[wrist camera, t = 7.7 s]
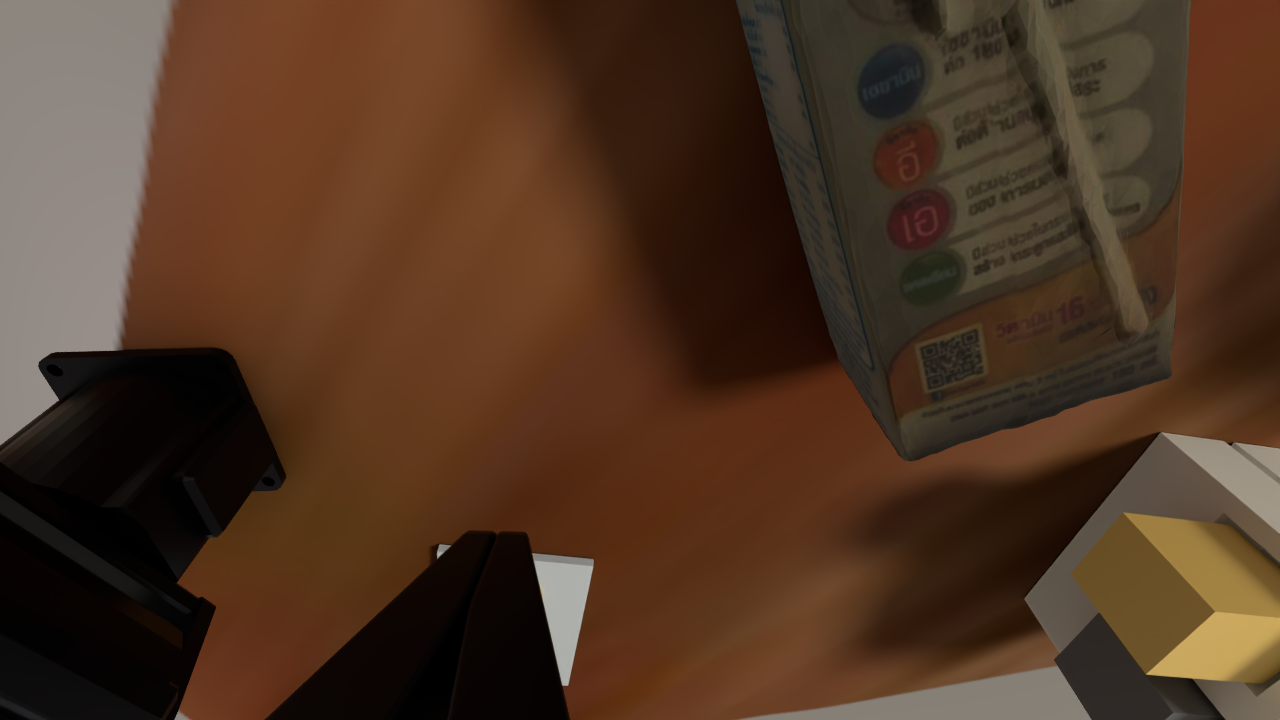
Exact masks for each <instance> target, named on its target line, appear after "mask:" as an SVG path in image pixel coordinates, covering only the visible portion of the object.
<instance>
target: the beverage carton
mask: <svg viewBox="0 0 1280 720" xmlns="http://www.w3.org/2000/svg"><path fill="white" fill-rule="evenodd" d="M735 1H736V4H737V8H738V11H739V15H740V19H741V23H742V26H743V30H744V34H745V38H746V41H747V45H748V49H749V52H750V56H751V60H752V63H753V67H754V71H755V74H756V78H757V82H758V85H759V89H760V92H761V96H762V100H763V103H764V107H765V111H766V115H767V119H768V124H769V128H770V131H771V134H772V138H773V142H774V145H775V149H776V153H777V156H778V160H779V163H780V167H781V170H782V174H783V177H784V181H785V184H786V188H787V192H788V195H789V199H790V203H791V206H792V210H793V214H794V217H795V221H796V224H797V227H798V231H799V234H800V237H801V241H802V244H803V248H804V251H805V255H806V258H807V262H808V265H809V268H810V272H811V275H812V279H813V282H814V285H815V289H816V292H817V295H818V299H819V302H820V305H821V308H822V311H823V314H824V317H825V320H826V322H827V326H828V330H829V334H830V337H831V339H832V341H833V343H834V346H835V349H836V352H837V356H838V360H839V362H840V363H841V365H842V366H843V368H844V370H845V371H846V373H847V375H848V377H849V378H850V379H851V380H852V382H853V384H854V385H855V387H856V389H857V390H858V392H859V393H860V395H861V396H862V398H863V400H864V402H865V403H866V405H867V406H868V407H869V409H870V410H871V412H872V415H873V417H874V418H875V420H876V421H877V422H878V424H879V425H880V427H881V429H882V430H883V432H884V434H885V435H886V437H887V438H888V439H889V440H890V442H891V443H892V445H893V446H894V448H895V450H896V451H897V453H898V455H899V456H900V457H901V458H903V459H904V460H906V461H914V460H919V459H922V458H924V457H926V456H928V455H931V454H935V453H939V452H941V451H943V450H945V449H947V448H950V447H952V446H955V445H957V444H960V443H963V442H967V441H970V440H974V439H977V438H980V437H983V436H986V435H989V434H991V433H994V432H997V431H1000V430H1003V429H1012V428H1018V427H1021V426H1024V425H1027V424H1029V423H1032V422H1035V421H1037V420H1040V419H1044V418H1047V417H1051V416H1055V415H1057V414H1058V413H1060V412H1061V411H1063V410H1065V409H1069V408H1072V407H1076V406H1078V405H1081V404H1083V403H1086V402H1088V401H1091V400H1094V399H1098V398H1103V397H1107V396H1111V395H1115V394H1119V393H1123V392H1127V391H1130V390H1133V389H1136V388H1138V387H1141V386H1144V385H1147V384H1151V383H1154V382H1158V381H1161V380H1165V379H1168V378H1170V377H1171V375H1172V372H1171V368H1170V350H1171V345H1172V340H1173V333H1174V327H1175V307H1176V283H1177V256H1178V242H1179V228H1180V212H1181V197H1182V182H1183V162H1184V128H1185V108H1186V78H1187V67H1188V51H1189V21H1190V7H1191V0H735Z"/></svg>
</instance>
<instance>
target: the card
mask: <svg viewBox="0 0 1280 720" xmlns="http://www.w3.org/2000/svg"><path fill="white" fill-rule="evenodd" d="M450 546H451V545H441V544H439V548H438V551H437V558H438V557H439V556H440V555H441V554H443V553H444V552H445V551H446V550H447V549H448V548H449V547H450ZM532 554H533V559H534V563H535V568H536V572H537V576H538V581H539V585H540V590H541V594H542V598H543V603H544V607H545V611H546V616H547V620H548V625H549V629H550V633H551V638H552V642H553V646H554V651H555V655H556V660H557V664H558V668H559V673H560V677H561V682H562V685H567V686H568V683H569V678H570V673H571V669H572V664H573V659H574V655H575V650H576V645H577V641H578V636H579V631H580V626H581V622H582V617H583V612H584V608H585V603H586V598H587V594H588V589H589V584H590V579H591V575H592V570H593V562H594V559H587V558H577V557H566V556H556V555H545V554H535V553H532Z"/></svg>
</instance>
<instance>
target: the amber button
mask: <svg viewBox="0 0 1280 720" xmlns="http://www.w3.org/2000/svg"><path fill="white" fill-rule="evenodd" d="M1071 575H1072V577H1073V578H1074V579H1075V581H1076V582H1077V583H1078V585H1079V586H1080V587H1081V589H1082V590H1083V591H1084V593H1085V594H1086V595H1087V597H1088V598H1089V599H1090V601H1091V602H1092V603H1093V605H1094V606H1095V607H1096V609H1097V610H1098V611H1099V613H1100V614H1101V615H1102V617H1103V618H1104V619H1105V621H1106V622H1107V623H1108V625H1109V626H1110V627H1111V629H1112V630H1113V631H1114V633H1115V634H1116V635H1117V637H1118V638H1119V639H1120V641H1121V642H1122V643H1123V645H1124V646H1125V647H1126V649H1127V650H1128V651H1129V653H1130V654H1131V655H1132V657H1133V658H1134V659H1135V661H1136V662H1137V663H1138V665H1139V666H1140V667H1141V669H1142V670H1143V671H1144V673H1145V674H1146V675H1158V676H1170V677H1182V678H1194V679H1206V680H1219V681H1231V682H1243V683H1255V684H1263V683H1265V682H1266V681H1267V680H1268V679H1270V678H1271V677H1272V676H1274V675H1275V674H1276V673H1278V672H1279V671H1280V568H1279V567H1277V566H1276V565H1275V564H1274V563H1273V562H1272V561H1271V560H1270V559H1269V558H1268V557H1266V556H1265V555H1264V554H1263V553H1262V552H1261V551H1260V550H1259V549H1258V548H1256V547H1255V546H1254V545H1253V544H1252V543H1251V542H1250V541H1249V540H1248V539H1247V538H1245V537H1244V536H1243V535H1242V534H1241V533H1240V532H1239V531H1238V530H1237V529H1235V528H1234V527H1233V526H1232V525H1226V524H1217V523H1209V522H1201V521H1192V520H1184V519H1175V518H1167V517H1158V516H1150V515H1141V514H1133V513H1124V512H1123V513H1122V514H1121V515H1120V516H1119V517H1118V519H1117V520H1116V521H1115V522H1114V523H1113V524H1112V526H1111V527H1110V528H1109V529H1108V530H1107V531H1106V533H1105V534H1104V535H1103V536H1102V537H1101V538H1100V540H1099V541H1098V542H1097V543H1096V544H1095V545H1094V547H1093V548H1092V549H1091V550H1090V551H1089V552H1088V554H1087V555H1086V556H1085V557H1084V558H1083V559H1082V561H1081V562H1080V563H1079V564H1078V565H1077V567H1076V568H1075V569H1074V570H1073V571H1072V572H1071Z"/></svg>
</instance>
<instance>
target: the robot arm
mask: <svg viewBox="0 0 1280 720" xmlns="http://www.w3.org/2000/svg"><path fill="white" fill-rule="evenodd" d="M214 361H217V362H219V363H220V364H221V366H219V365H218V364H216V363H215V362H214ZM38 367H39V369H40V371H41V373H42V374H43V376H44V377H45V379H46V380H47V382H48V383H49V385H50V386H51V388H52V389H53V391H54V392H55V394H56V396H57V397H58V399H59V401H58V402H56V403H55V404H54V405H52V406H51V407H50V408H49V409H47V410H46V411H45V412H43V413H42V414H41V415H39V416H38V417H37V418H36V419H34V420H33V421H32V422H30V423H29V424H28V425H26V426H25V427H24V428H22V429H21V430H20V431H19V432H17V433H16V434H15V435H13V436H12V437H11V438H9V439H8V440H7V441H5V442H4V443H3V444H2V445H0V720H174V719H175V717H176V714H177V712H178V710H179V707H180V704H181V702H182V699H183V696H184V694H185V691H186V688H187V685H188V683H189V680H190V677H191V675H192V672H193V669H194V666H195V664H196V661H197V658H198V655H199V653H200V650H201V647H202V645H203V642H204V639H205V636H206V634H207V631H208V628H209V625H210V623H211V620H212V617H213V615H214V612H215V609H216V606H215V605H214V604H212V603H211V602H209V601H208V600H206V599H205V598H203V597H200V598H198V597H196V596H195V595H193V594H192V593H190V592H189V591H187V590H186V589H185V588H183V587H182V586H180V585H179V584H177V582H178V580H179V579H180V577H181V576H182V575H183V573H184V572H185V571H186V569H187V568H188V566H189V565H190V564H191V562H192V561H193V559H194V558H195V557H196V555H197V554H198V553H199V551H200V550H201V548H202V547H203V546H204V544H205V543H206V541H207V540H208V539H209V537H218V536H219V535H221V533H222V532H223V531H224V530H225V529H226V527H227V526H228V524H229V523H230V522H231V520H232V519H233V517H234V516H235V514H236V513H237V512H238V510H239V509H240V507H241V506H242V505H243V503H244V502H245V500H246V499H247V497H248V496H249V495H250V493H251V492H252V491H273V490H277V489H279V488H280V487H281V486H282V484H283V483H284V481H285V479H286V474H285V472H284V469H283V467H282V465H281V463H280V460H279V458H278V456H277V452H276V450H275V448H274V446H273V443H272V441H271V439H270V437H269V434H268V432H267V430H266V428H265V425H264V423H263V421H262V418H261V416H260V414H259V412H258V409H257V407H256V406H255V404H254V402H253V399H252V397H251V395H250V393H249V390H248V388H247V386H246V384H245V381H244V379H243V377H242V375H241V372H240V370H239V368H238V365H237V363H236V361H235V359H234V358H233V356H232V355H231V354H230V353H228V352H227V351H225V350H222V349H217V348H207V349H167V350H127V351H91V352H90V351H88V352H55V353H51V354H50V355H48V356H47V357H45V358H44V359H42V360H41V361H40V362H39V365H38ZM59 367H60V368H59ZM269 477H270V478H269ZM271 478H272V479H271ZM265 720H570V717H569V712H568V708H567V703H566V699H565V695H564V690H563V686H562V682H561V677H560V673H559V668H558V664H557V660H556V655H555V651H554V646H553V642H552V638H551V633H550V629H549V625H548V620H547V616H546V611H545V607H544V603H543V598H542V594H541V590H540V585H539V581H538V576H537V572H536V568H535V563H534V559H533V554H532V550H531V546H530V541H529V537H528V535H527V533H525V532H514V531H501V532H499V533H498V534H496V533H495V532H494V531H467V532H466V533H464V534H463V535H462V536H461V537H460V538H459V539H457V540H456V541H455V542H454V543H453V544H452V545H451V546H450V547H449V548H448V549H447V550H446V551H445V552H444V553H443V554H441V555H440V556H439V557H438V558H437V559H436V560H435V561H434V562H433V563H432V564H431V565H430V566H429V567H428V568H426V569H425V570H424V571H423V572H422V573H421V574H420V575H419V576H418V577H417V578H416V579H415V580H414V581H413V582H411V583H410V584H409V585H408V586H407V587H406V588H405V589H404V590H403V591H402V592H401V593H400V594H399V595H398V596H397V597H395V598H394V599H393V600H392V601H391V602H390V603H389V604H388V605H387V606H386V607H385V608H384V609H383V610H382V611H380V612H379V613H378V614H377V615H376V616H375V617H374V618H373V619H372V620H371V621H370V622H369V623H368V624H367V625H365V626H364V627H363V628H362V629H361V630H360V631H359V632H358V633H357V634H356V635H355V636H354V637H353V638H352V639H351V640H349V641H348V642H347V643H346V644H345V645H344V646H343V647H342V648H341V649H340V650H339V651H338V652H337V653H336V654H334V655H333V656H332V657H331V658H330V659H329V660H328V661H327V662H326V663H325V664H324V665H323V666H322V667H321V668H320V669H318V670H317V671H316V672H315V673H314V674H313V675H312V676H311V677H310V678H309V679H308V680H307V681H306V682H305V683H303V684H302V685H301V686H300V687H299V688H298V689H297V690H296V691H295V692H294V693H293V694H292V695H291V696H290V697H288V698H287V699H286V700H285V701H284V702H283V703H282V704H281V705H280V706H279V707H278V708H277V709H276V710H275V711H274V712H272V713H271V714H270V715H269V716H268V717H267V718H266V719H265Z"/></svg>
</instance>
